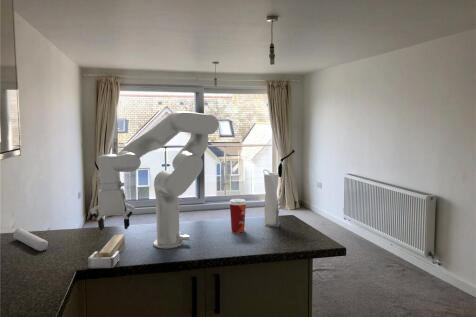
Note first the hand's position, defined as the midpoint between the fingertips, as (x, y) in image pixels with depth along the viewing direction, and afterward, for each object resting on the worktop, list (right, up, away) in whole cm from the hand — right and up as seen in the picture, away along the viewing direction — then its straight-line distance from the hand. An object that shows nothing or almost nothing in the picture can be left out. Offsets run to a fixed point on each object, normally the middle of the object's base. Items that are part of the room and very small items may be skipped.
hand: (114, 228), depth 149 cm
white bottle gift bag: (+66, -6, +42) cm, 78 cm away
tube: (-39, -10, +12) cm, 42 cm away
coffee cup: (+49, -7, +31) cm, 58 cm away
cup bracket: (-1, -11, -8) cm, 14 cm away
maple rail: (-1, -11, +1) cm, 11 cm away
